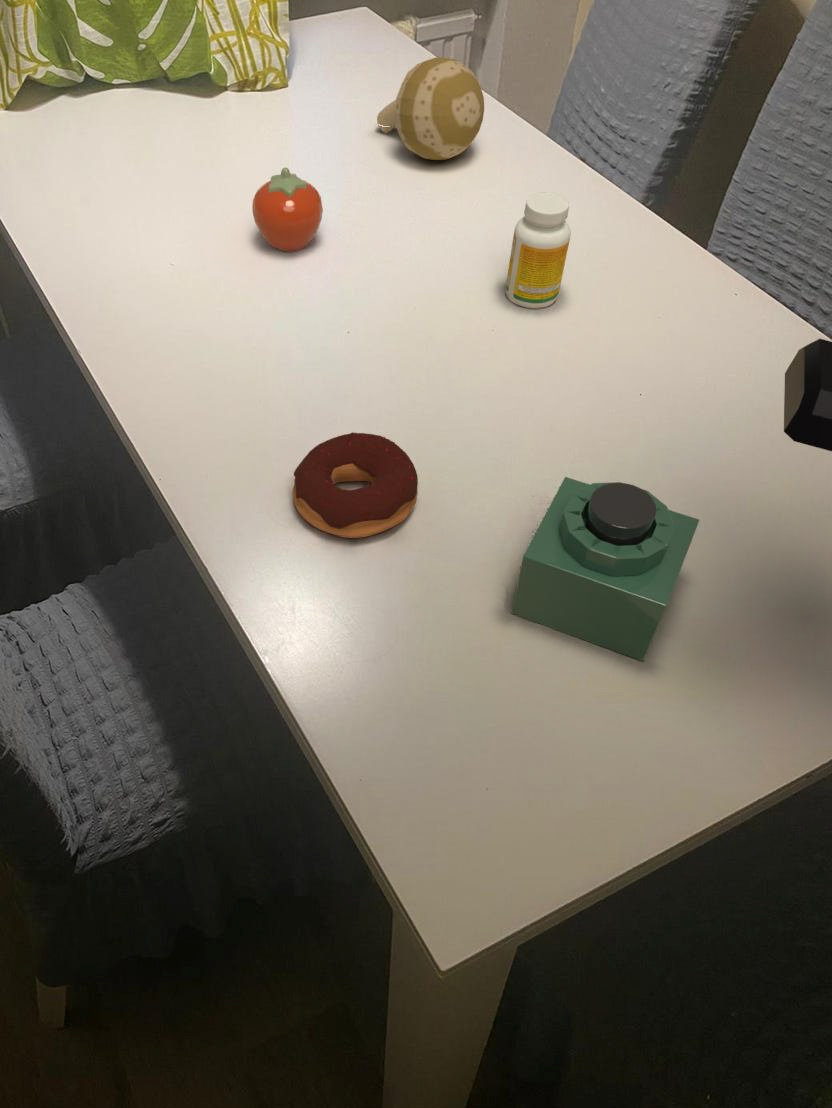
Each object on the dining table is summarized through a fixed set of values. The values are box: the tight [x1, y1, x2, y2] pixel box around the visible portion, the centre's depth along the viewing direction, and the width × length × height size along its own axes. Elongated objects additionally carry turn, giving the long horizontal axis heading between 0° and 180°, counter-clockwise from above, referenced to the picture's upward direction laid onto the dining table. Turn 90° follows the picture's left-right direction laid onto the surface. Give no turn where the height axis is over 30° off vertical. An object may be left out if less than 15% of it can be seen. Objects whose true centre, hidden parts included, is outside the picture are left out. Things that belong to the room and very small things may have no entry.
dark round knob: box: [585, 482, 656, 546], centre depth 63 cm, size 4×4×2 cm
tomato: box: [251, 167, 324, 253], centre depth 97 cm, size 7×7×8 cm
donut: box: [292, 431, 419, 539], centre depth 74 cm, size 10×10×4 cm
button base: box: [510, 476, 700, 662], centre depth 67 cm, size 10×9×8 cm
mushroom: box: [376, 56, 485, 161], centre depth 110 cm, size 10×11×15 cm
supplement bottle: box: [505, 191, 572, 309], centre depth 90 cm, size 5×5×10 cm
